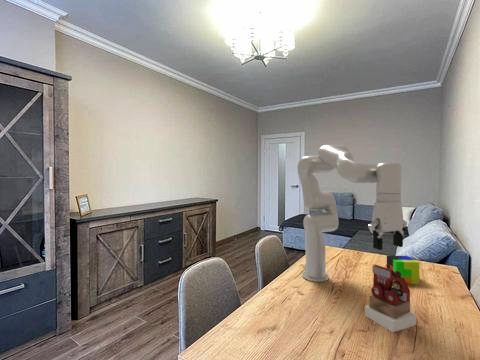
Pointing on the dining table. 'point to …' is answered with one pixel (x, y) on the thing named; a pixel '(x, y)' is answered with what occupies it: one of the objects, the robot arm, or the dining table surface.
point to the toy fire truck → (389, 285)
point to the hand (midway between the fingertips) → (388, 247)
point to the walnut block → (389, 307)
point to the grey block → (391, 319)
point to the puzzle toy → (405, 268)
